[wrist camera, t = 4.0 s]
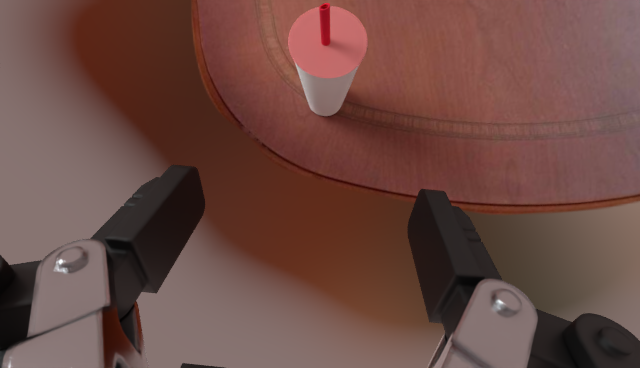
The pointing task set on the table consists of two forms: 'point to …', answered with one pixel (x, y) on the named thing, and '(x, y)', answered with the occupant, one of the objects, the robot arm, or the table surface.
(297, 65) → the cup
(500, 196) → the table surface
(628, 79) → the table surface
